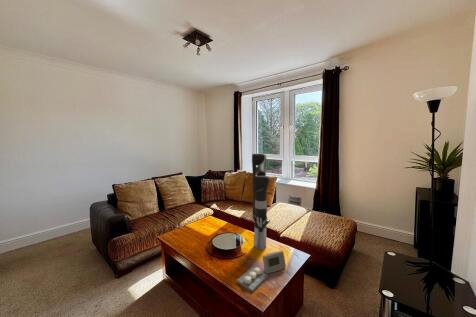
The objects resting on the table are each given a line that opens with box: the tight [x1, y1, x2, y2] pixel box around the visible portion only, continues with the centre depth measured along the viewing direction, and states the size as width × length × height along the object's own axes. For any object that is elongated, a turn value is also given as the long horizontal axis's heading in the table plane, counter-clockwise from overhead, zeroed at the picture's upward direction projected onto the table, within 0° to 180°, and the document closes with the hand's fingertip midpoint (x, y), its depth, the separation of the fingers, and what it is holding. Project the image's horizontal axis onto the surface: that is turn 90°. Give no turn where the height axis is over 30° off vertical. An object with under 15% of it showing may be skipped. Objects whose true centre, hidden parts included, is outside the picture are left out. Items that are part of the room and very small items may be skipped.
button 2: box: [249, 272, 256, 281], centre depth 123 cm, size 5×5×3 cm
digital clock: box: [262, 250, 287, 275], centre depth 133 cm, size 16×9×11 cm, turn 100°
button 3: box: [254, 266, 262, 276], centre depth 127 cm, size 5×5×3 cm
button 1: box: [244, 276, 251, 285], centre depth 120 cm, size 5×5×3 cm
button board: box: [236, 266, 269, 293], centre depth 123 cm, size 12×16×2 cm
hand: (261, 231), depth 129 cm, fingers closed
